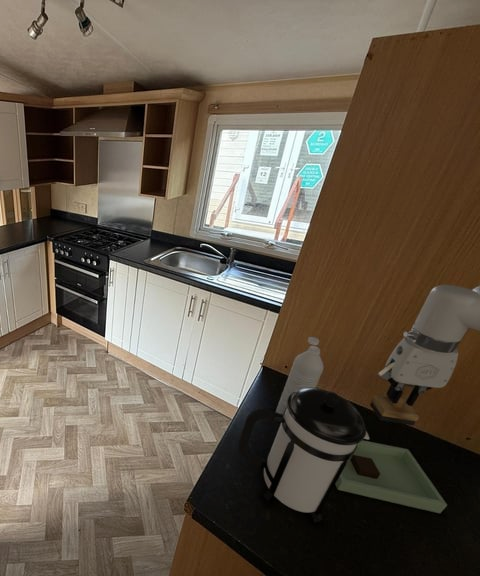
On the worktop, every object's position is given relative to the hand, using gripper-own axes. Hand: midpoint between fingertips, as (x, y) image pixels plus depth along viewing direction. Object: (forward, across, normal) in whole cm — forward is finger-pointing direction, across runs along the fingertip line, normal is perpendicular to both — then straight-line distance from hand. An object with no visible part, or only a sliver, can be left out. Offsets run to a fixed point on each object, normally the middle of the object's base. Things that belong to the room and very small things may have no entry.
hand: (399, 400), depth 77 cm
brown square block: (+14, -8, -11) cm, 19 cm away
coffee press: (+14, -28, -21) cm, 38 cm away
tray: (+15, -6, -11) cm, 19 cm away
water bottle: (+14, -21, +3) cm, 26 cm away
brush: (+5, 0, 0) cm, 5 cm away
